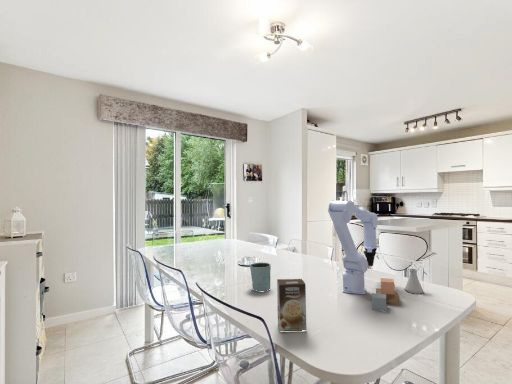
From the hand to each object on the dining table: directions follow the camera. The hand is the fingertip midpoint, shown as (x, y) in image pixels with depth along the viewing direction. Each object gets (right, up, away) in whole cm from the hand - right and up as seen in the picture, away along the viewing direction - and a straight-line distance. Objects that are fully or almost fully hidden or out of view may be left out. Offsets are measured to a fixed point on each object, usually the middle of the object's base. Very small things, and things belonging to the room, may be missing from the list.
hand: (370, 264), depth 139 cm
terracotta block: (-2, -6, -22) cm, 23 cm away
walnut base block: (-2, -10, -22) cm, 24 cm away
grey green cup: (-55, -12, -2) cm, 56 cm away
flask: (+15, -10, -12) cm, 21 cm away
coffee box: (-45, -11, -43) cm, 63 cm away
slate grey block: (-9, -10, -29) cm, 32 cm away
